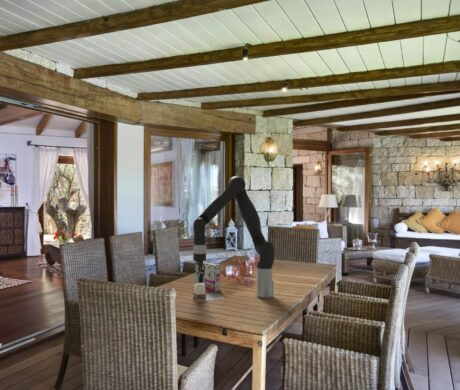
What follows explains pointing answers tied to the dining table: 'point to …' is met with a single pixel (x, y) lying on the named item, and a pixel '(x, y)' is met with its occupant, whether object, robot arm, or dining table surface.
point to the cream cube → (199, 288)
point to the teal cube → (198, 278)
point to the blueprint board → (212, 297)
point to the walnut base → (199, 296)
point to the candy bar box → (212, 276)
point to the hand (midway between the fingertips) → (199, 281)
